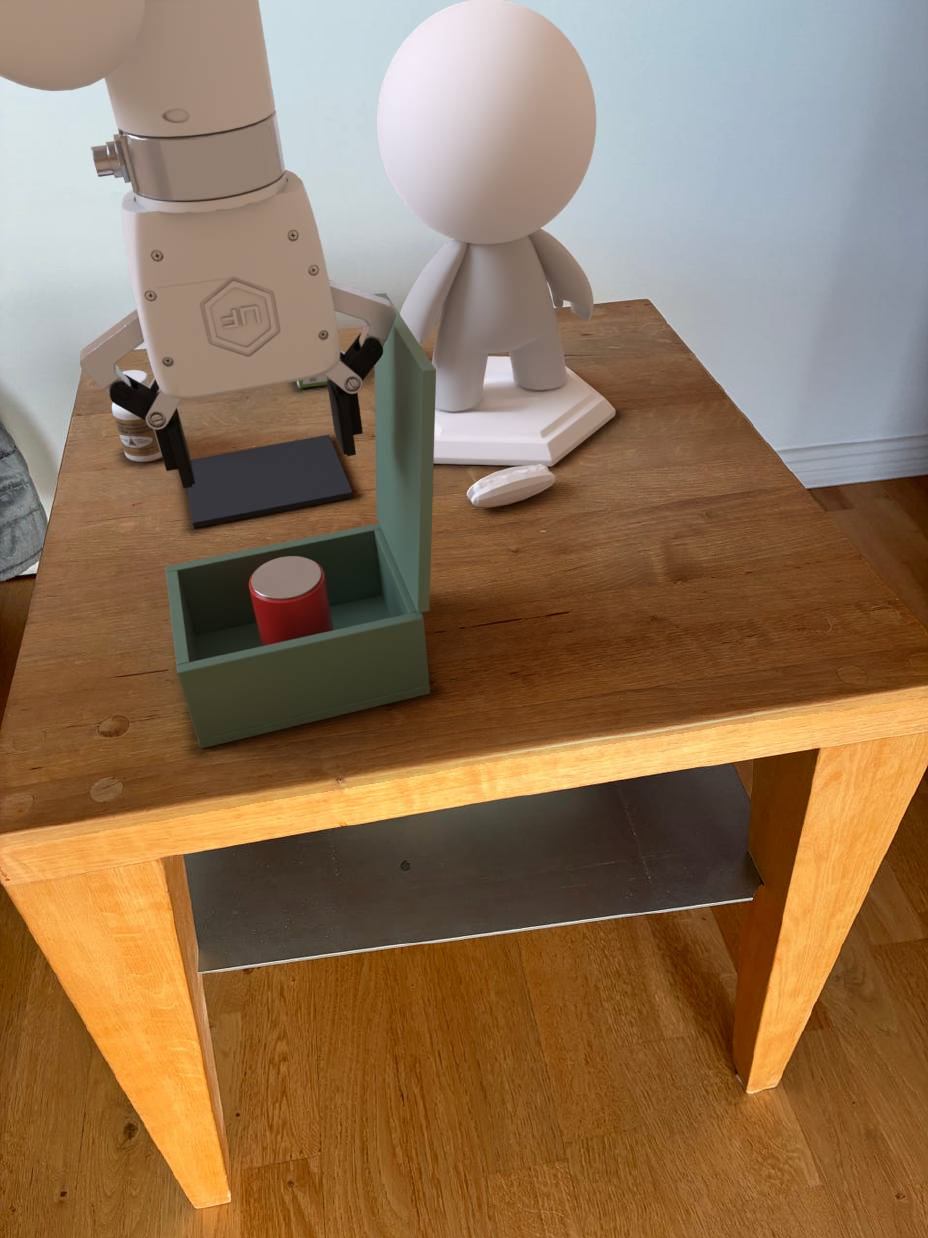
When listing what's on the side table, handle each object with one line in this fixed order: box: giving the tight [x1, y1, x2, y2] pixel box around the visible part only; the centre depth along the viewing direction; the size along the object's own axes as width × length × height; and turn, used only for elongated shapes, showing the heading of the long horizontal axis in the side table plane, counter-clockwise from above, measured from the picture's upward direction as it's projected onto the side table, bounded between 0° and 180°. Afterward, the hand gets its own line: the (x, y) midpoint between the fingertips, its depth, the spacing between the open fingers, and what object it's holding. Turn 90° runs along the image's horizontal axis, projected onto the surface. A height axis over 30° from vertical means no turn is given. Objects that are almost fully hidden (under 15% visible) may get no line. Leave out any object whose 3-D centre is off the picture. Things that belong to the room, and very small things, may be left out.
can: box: [249, 556, 333, 646], centre depth 66 cm, size 5×5×7 cm
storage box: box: [164, 522, 431, 749], centre depth 67 cm, size 16×12×7 cm
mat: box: [186, 434, 354, 529], centre depth 89 cm, size 14×11×1 cm
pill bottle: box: [111, 369, 163, 463], centre depth 91 cm, size 4×4×8 cm
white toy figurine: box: [376, 0, 616, 468], centre depth 86 cm, size 20×23×35 cm
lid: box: [373, 292, 436, 613], centre depth 61 cm, size 16×12×1 cm
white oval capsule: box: [466, 464, 557, 509], centre depth 84 cm, size 3×8×3 cm, turn 115°
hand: (267, 460), depth 59 cm, fingers open, 9 cm apart
